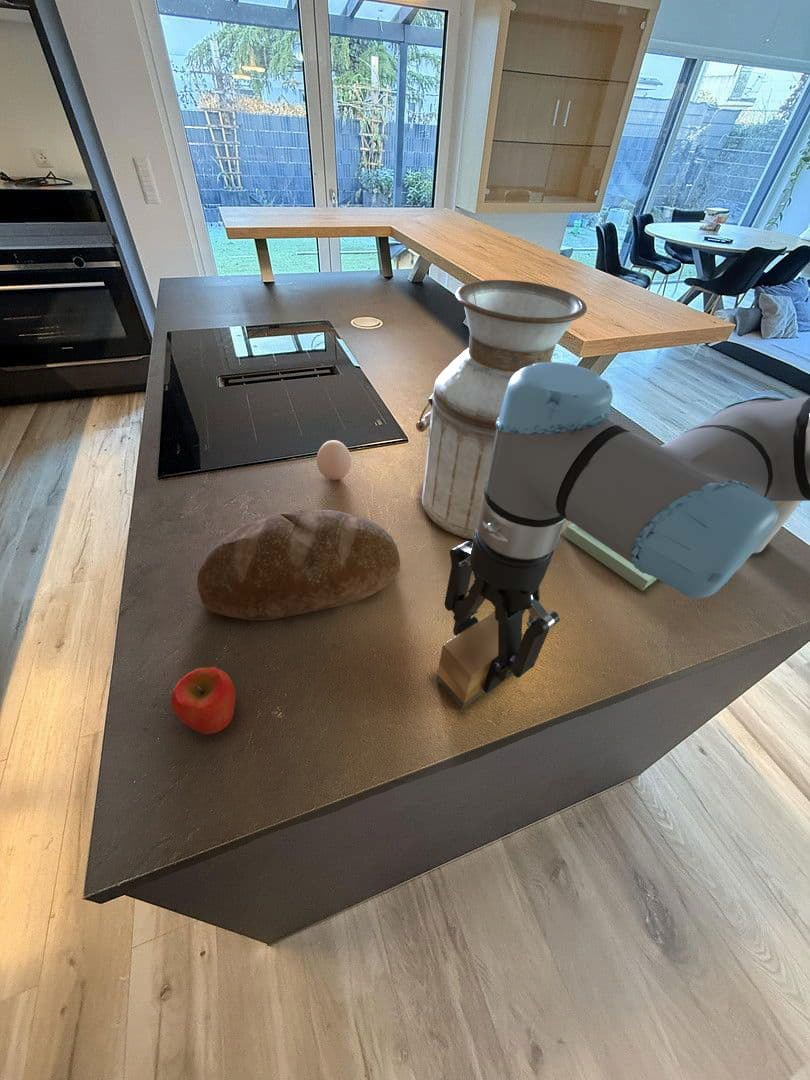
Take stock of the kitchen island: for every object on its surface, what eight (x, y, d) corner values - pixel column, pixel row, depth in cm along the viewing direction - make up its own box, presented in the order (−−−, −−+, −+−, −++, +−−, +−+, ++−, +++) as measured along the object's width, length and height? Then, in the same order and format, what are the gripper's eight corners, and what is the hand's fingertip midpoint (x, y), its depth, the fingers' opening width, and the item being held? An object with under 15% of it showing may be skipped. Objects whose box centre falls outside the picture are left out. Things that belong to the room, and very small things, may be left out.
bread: (204, 562, 72) (184, 506, 65) (384, 532, 80) (385, 478, 72) (203, 644, 62) (179, 588, 54) (411, 601, 69) (417, 546, 61)
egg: (313, 471, 92) (310, 436, 86) (345, 464, 94) (344, 430, 89) (324, 490, 88) (321, 454, 82) (357, 482, 90) (356, 447, 84)
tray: (702, 542, 82) (708, 533, 80) (642, 591, 73) (648, 581, 71) (625, 497, 91) (630, 488, 89) (563, 535, 81) (567, 526, 80)
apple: (228, 684, 58) (214, 650, 52) (252, 721, 54) (239, 689, 49) (178, 715, 54) (158, 682, 49) (199, 756, 51) (180, 725, 46)
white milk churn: (558, 496, 90) (628, 297, 65) (521, 563, 76) (593, 341, 51) (444, 456, 98) (469, 266, 74) (392, 510, 84) (402, 297, 60)
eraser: (511, 671, 61) (525, 636, 56) (462, 709, 57) (471, 675, 51) (485, 645, 64) (496, 609, 58) (435, 680, 59) (442, 644, 54)
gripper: (423, 499, 46) (410, 635, 62) (567, 617, 36) (507, 743, 52) (477, 475, 50) (451, 609, 66) (622, 577, 40) (550, 706, 56)
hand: (476, 668), depth 59 cm, fingers closed on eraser, 5 cm apart
